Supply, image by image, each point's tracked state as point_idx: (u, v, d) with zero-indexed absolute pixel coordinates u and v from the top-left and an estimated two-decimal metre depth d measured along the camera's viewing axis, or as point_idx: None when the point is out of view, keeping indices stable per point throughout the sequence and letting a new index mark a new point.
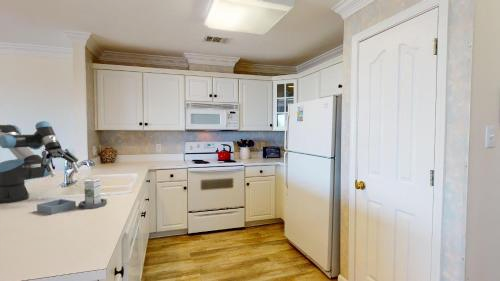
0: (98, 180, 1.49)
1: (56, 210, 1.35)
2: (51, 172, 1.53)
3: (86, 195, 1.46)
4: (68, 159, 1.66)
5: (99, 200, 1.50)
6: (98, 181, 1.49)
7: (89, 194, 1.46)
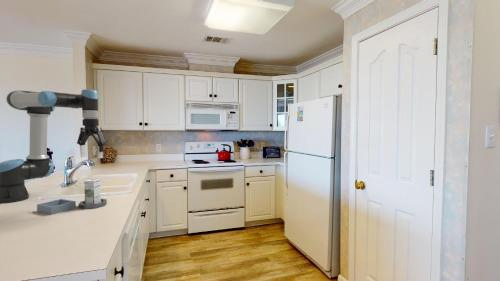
0: (98, 180, 1.49)
1: (56, 210, 1.35)
2: None
3: (86, 195, 1.46)
4: None
5: (99, 200, 1.50)
6: (98, 181, 1.49)
7: (89, 194, 1.46)
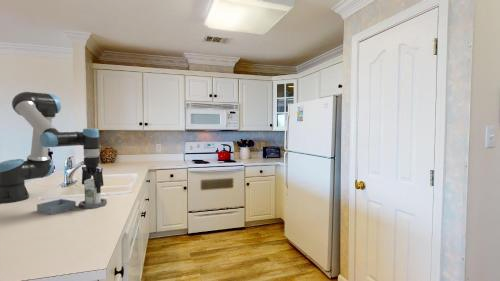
0: None
1: (56, 210, 1.35)
2: None
3: (86, 195, 1.46)
4: None
5: (99, 200, 1.50)
6: None
7: (89, 194, 1.46)
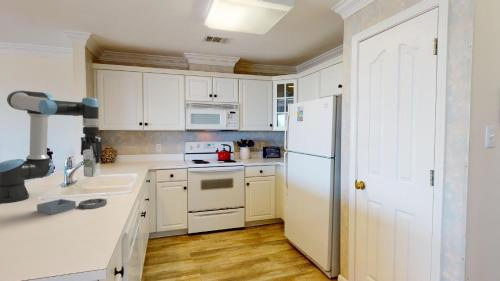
0: None
1: (56, 210, 1.35)
2: None
3: (85, 165, 1.45)
4: None
5: (98, 171, 1.49)
6: None
7: (87, 164, 1.45)
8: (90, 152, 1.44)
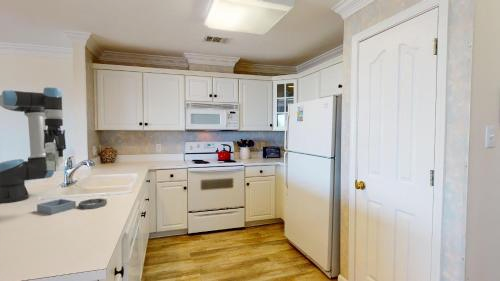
0: None
1: (56, 210, 1.35)
2: None
3: (47, 159, 1.37)
4: None
5: (62, 165, 1.41)
6: None
7: (50, 158, 1.37)
8: (52, 145, 1.36)
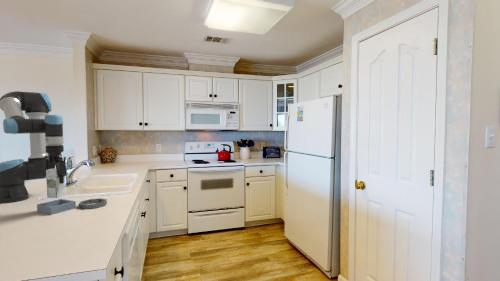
0: None
1: (56, 210, 1.35)
2: None
3: (48, 185, 1.38)
4: None
5: (63, 191, 1.41)
6: None
7: (51, 184, 1.37)
8: (53, 172, 1.37)
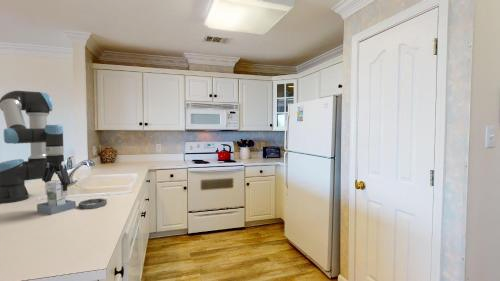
0: None
1: (56, 210, 1.35)
2: None
3: (48, 198, 1.38)
4: None
5: (63, 203, 1.42)
6: None
7: (51, 197, 1.38)
8: (53, 184, 1.37)
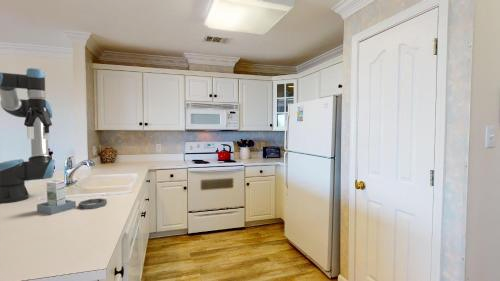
0: (62, 182, 1.41)
1: (56, 210, 1.35)
2: None
3: (48, 198, 1.38)
4: None
5: (63, 203, 1.42)
6: (62, 183, 1.41)
7: (51, 197, 1.38)
8: (53, 184, 1.37)
